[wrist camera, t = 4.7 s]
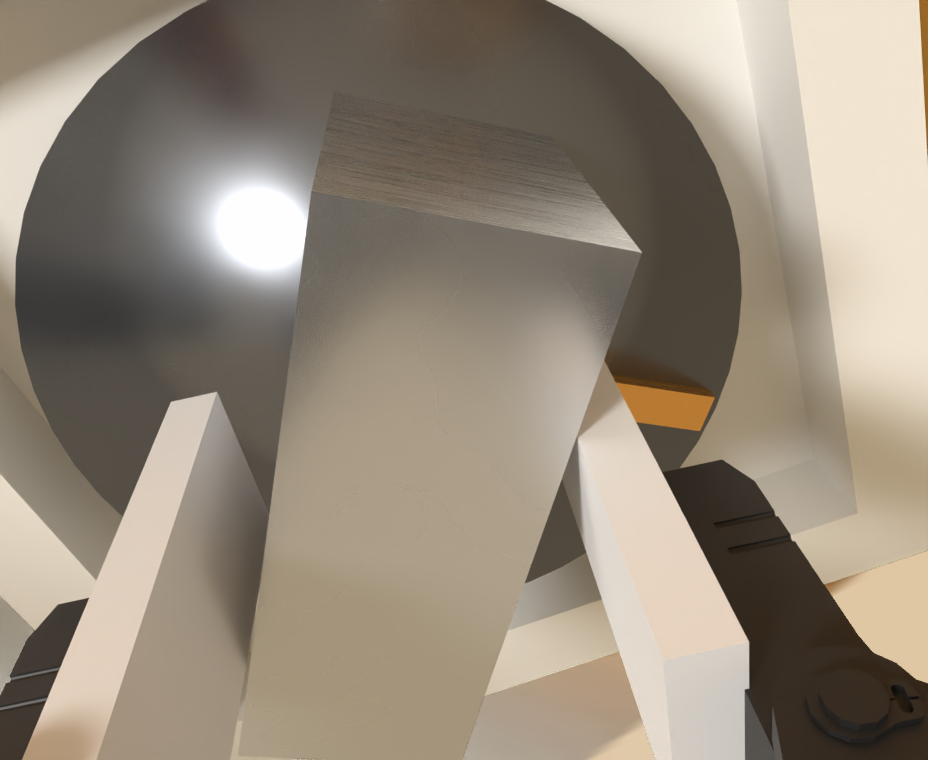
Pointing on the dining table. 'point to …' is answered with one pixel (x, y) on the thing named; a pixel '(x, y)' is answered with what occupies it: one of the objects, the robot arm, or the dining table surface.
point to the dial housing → (762, 279)
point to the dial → (379, 318)
